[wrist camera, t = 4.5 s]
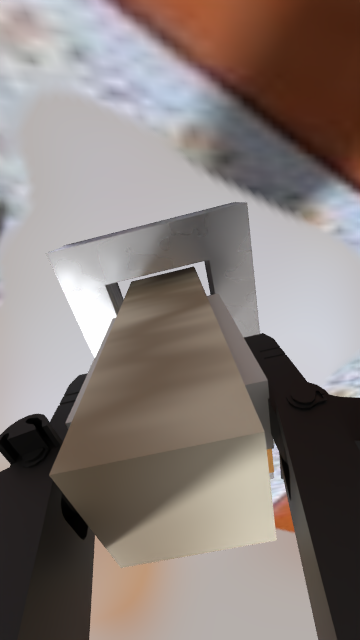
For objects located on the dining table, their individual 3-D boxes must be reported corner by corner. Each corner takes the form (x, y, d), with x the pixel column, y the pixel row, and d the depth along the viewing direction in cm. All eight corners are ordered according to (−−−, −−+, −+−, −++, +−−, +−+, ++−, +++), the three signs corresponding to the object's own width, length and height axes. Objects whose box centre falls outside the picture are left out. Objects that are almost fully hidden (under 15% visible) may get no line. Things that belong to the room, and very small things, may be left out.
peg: (193, 266, 15) (264, 431, 4) (205, 322, 17) (276, 540, 6) (131, 281, 15) (48, 474, 4) (149, 335, 17) (120, 568, 6)
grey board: (233, 202, 14) (248, 202, 11) (263, 451, 23) (274, 480, 21) (64, 245, 14) (43, 254, 12) (161, 471, 24) (161, 502, 21)
